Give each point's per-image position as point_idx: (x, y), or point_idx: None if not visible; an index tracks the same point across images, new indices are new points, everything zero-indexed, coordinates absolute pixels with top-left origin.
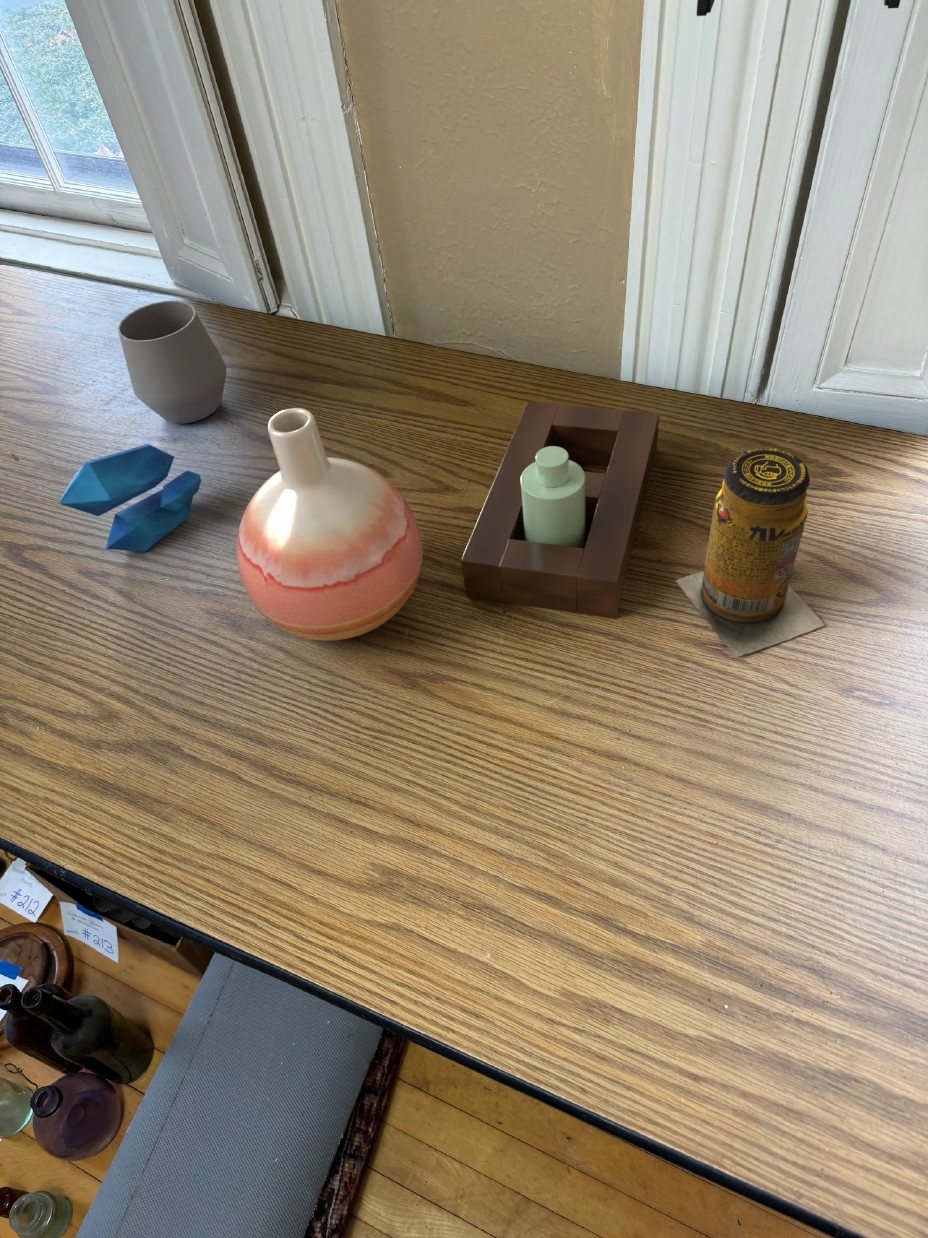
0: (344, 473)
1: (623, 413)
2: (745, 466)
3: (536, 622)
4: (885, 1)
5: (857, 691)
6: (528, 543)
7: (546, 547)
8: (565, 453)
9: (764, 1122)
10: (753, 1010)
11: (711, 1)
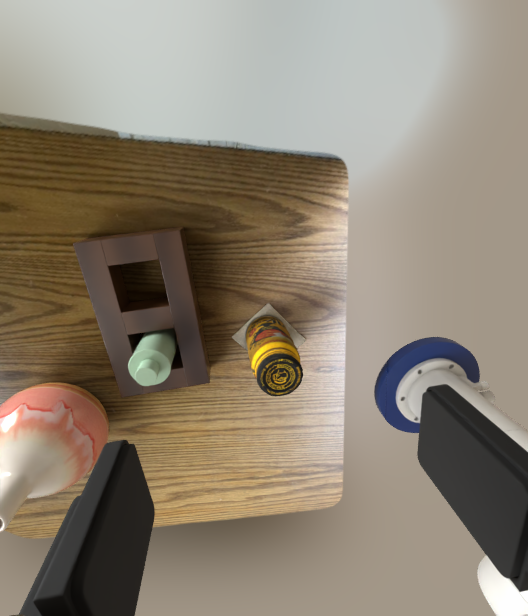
0: (36, 468)
1: (154, 238)
2: (267, 377)
3: None
4: (421, 465)
5: (321, 368)
6: None
7: None
8: (153, 372)
9: (306, 500)
10: (300, 480)
11: (149, 513)
